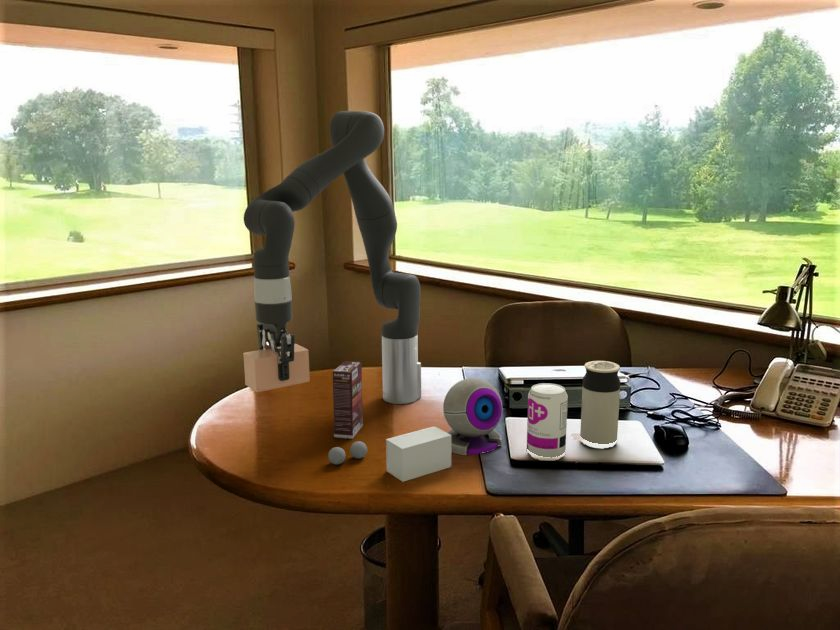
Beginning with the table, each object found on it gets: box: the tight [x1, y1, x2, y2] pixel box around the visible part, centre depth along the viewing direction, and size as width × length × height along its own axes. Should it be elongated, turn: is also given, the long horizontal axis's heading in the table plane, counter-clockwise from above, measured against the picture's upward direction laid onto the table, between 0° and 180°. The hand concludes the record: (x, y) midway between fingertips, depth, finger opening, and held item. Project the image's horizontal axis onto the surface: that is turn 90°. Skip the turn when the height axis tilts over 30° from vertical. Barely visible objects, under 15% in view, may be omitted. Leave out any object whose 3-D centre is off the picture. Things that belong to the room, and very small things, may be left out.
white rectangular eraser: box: [385, 426, 452, 483], centre depth 150 cm, size 12×6×7 cm, turn 124°
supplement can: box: [526, 382, 569, 458], centre depth 155 cm, size 8×8×15 cm
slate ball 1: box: [327, 446, 346, 466], centre depth 153 cm, size 4×4×4 cm
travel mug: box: [579, 360, 621, 444], centre depth 161 cm, size 8×8×18 cm
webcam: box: [442, 377, 503, 456], centre depth 162 cm, size 13×13×15 cm
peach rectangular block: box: [242, 343, 311, 393], centre depth 155 cm, size 12×6×7 cm, turn 125°
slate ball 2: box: [349, 440, 368, 459], centre depth 156 cm, size 4×4×4 cm
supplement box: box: [332, 360, 364, 440], centre depth 169 cm, size 9×5×16 cm, turn 168°
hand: (277, 375), depth 155 cm, fingers closed on peach rectangular block, 6 cm apart
